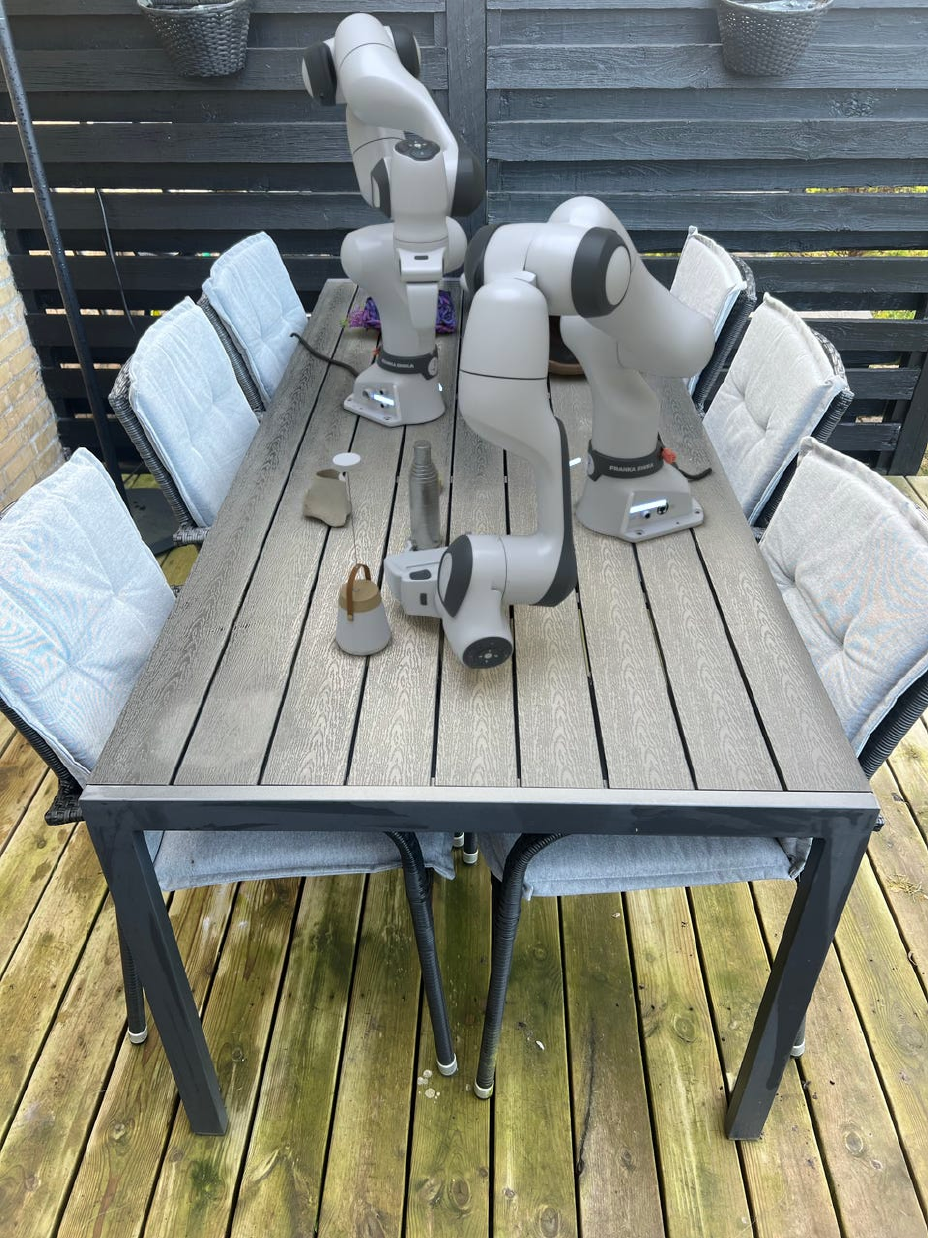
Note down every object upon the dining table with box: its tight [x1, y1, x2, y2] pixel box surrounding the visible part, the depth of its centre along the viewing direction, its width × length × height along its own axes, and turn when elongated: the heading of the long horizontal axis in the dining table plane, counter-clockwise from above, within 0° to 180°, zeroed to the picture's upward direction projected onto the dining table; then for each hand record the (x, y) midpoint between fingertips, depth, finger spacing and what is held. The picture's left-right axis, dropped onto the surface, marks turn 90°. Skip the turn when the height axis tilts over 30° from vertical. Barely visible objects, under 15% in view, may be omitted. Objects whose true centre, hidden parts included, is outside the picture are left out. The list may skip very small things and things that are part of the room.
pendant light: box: [332, 452, 392, 656], centre depth 130 cm, size 8×8×30 cm
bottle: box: [407, 439, 442, 551], centre depth 155 cm, size 5×5×19 cm
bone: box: [301, 468, 353, 528], centre depth 164 cm, size 9×8×10 cm
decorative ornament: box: [338, 289, 457, 334], centre depth 237 cm, size 13×11×30 cm
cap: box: [439, 476, 442, 493], centre depth 174 cm, size 4×4×2 cm
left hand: (424, 338), depth 157 cm, fingers open, 8 cm apart
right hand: (440, 539), depth 148 cm, fingers open, 8 cm apart
